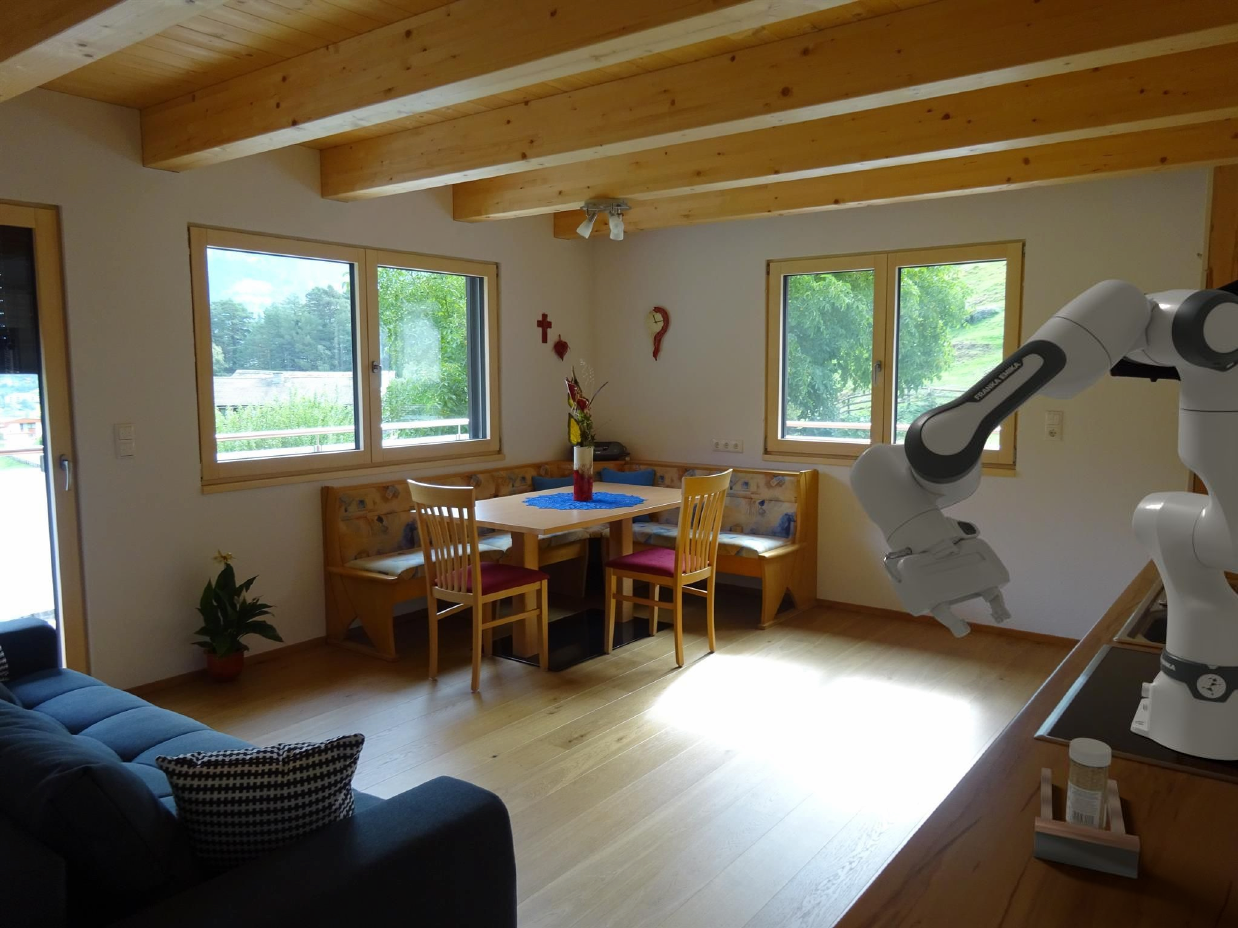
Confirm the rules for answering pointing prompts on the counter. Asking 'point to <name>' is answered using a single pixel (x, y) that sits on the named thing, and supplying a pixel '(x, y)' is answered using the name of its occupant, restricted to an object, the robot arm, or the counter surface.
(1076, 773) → the sprinkles bottle
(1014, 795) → the counter surface
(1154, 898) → the counter surface
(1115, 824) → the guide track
